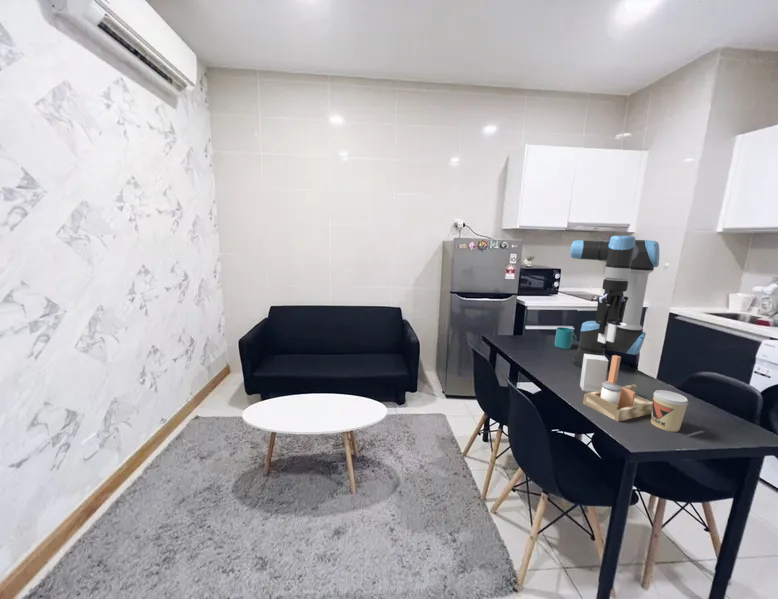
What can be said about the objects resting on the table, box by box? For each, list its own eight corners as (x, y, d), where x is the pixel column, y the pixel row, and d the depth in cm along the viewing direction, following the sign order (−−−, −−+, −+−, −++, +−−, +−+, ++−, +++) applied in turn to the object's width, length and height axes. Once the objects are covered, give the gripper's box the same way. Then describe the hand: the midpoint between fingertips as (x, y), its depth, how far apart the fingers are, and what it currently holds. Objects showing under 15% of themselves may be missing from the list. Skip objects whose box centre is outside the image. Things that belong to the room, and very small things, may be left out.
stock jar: (605, 404, 132) (609, 380, 130) (621, 412, 126) (626, 387, 124) (594, 407, 129) (598, 382, 128) (610, 415, 124) (614, 389, 122)
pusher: (607, 399, 135) (615, 354, 132) (635, 413, 125) (645, 364, 122) (601, 401, 134) (609, 355, 131) (629, 414, 124) (638, 365, 121)
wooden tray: (631, 394, 143) (633, 382, 142) (668, 410, 131) (671, 397, 129) (582, 405, 133) (584, 391, 131) (617, 423, 120) (620, 408, 119)
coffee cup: (641, 420, 123) (647, 389, 121) (664, 420, 124) (671, 389, 121) (663, 435, 114) (670, 402, 111) (689, 434, 114) (696, 402, 112)
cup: (578, 350, 201) (581, 331, 199) (558, 349, 201) (561, 330, 199) (571, 345, 210) (573, 327, 207) (551, 344, 210) (554, 326, 208)
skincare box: (600, 389, 147) (605, 355, 144) (604, 396, 141) (610, 360, 138) (578, 386, 150) (583, 352, 147) (581, 392, 144) (586, 357, 141)
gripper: (621, 277, 128) (611, 337, 133) (589, 278, 122) (580, 340, 126) (642, 280, 121) (630, 343, 126) (610, 281, 115) (599, 346, 119)
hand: (605, 341), depth 126 cm, fingers open, 4 cm apart
